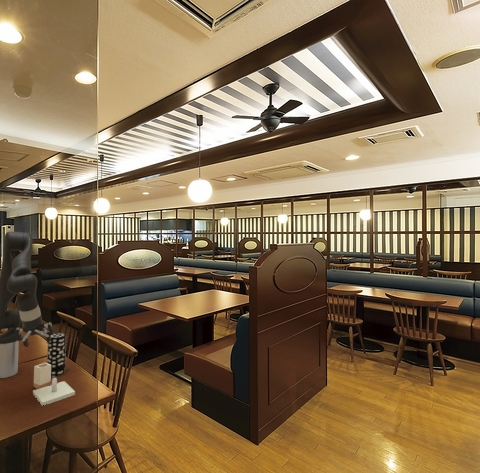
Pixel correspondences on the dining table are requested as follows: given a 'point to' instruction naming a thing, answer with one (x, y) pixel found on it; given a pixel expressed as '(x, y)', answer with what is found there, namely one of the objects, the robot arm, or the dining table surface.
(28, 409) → the dining table surface
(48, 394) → the pin board
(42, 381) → the sleeve
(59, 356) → the spotted tube
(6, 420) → the dining table surface
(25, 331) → the robot arm
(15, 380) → the dining table surface
